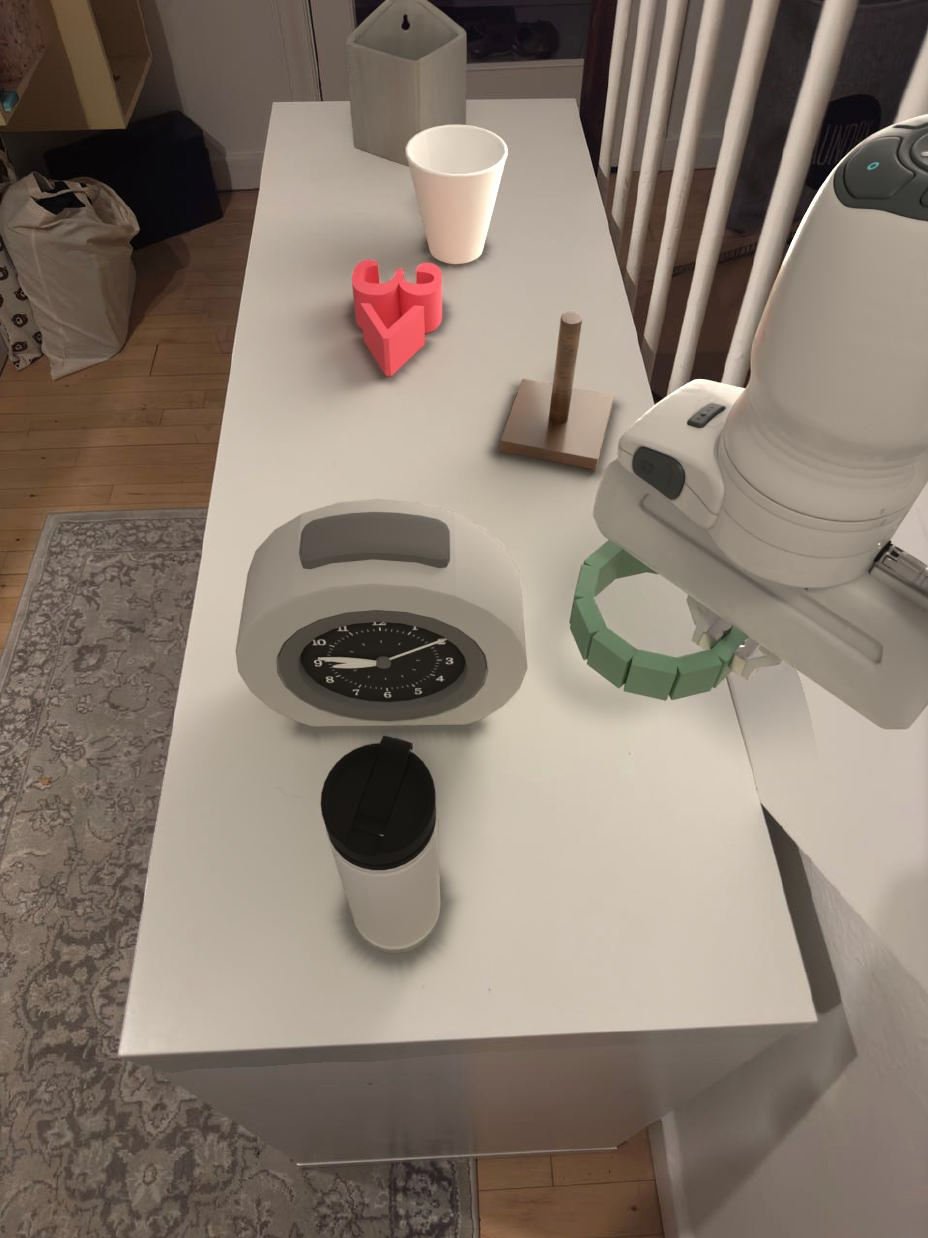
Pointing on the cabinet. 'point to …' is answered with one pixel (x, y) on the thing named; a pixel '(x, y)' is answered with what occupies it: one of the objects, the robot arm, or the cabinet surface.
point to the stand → (559, 411)
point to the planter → (404, 76)
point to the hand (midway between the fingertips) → (725, 654)
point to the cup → (456, 187)
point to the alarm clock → (382, 618)
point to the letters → (396, 311)
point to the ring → (625, 661)
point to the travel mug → (385, 842)
